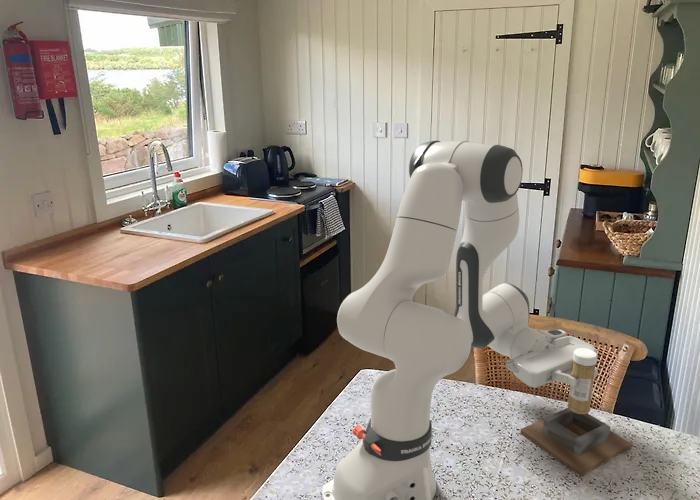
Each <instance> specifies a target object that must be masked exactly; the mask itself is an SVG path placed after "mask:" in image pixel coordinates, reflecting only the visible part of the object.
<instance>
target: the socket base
mask: <svg viewBox="0 0 700 500" xmlns="http://www.w3.org/2000/svg"><path fill="white" fill-rule="evenodd" d="M519 431H520V432H519V434H520V435H521V436H523V437H525V439H528V440H529V441H530V442H531V443H533V444H534V445H536V446H537V447H539V448H540V449H542V450H543V451H545V452H546V454H547V453H548V454H549V455H550V456H552V457H553V458H554V459H556V460H558V462H560V463H561V464H563V465H564V466H566V467H568V469H570V470H572V471H573V472H575V474H577V475H579V476H580V477H582V476H584V475H585V474H588V473H589V472H591V471H593V470H595V469H597V468H599V467H600V466H602V465H604V464H605V463H607V462H610V461H611V460H613V459H614V458H617V457H618V456H621V455H622V454H624V453H626V452H627V451H629V450H632V446H633V444H632V443H631V442H630V441H628V440H627V439H624V438H623V437H622V436H620V435H618V434H617V433H614V432H613V431H612V430H611V426H610V425H608V424H607V423H606V422H605V423H604V422H603V421H601V420H599V419H598V418H596V417H594V416H593V415H591V414H590V413H587V414H577V413H574V412H572V411H571V410H570V409H569V408H568V407H566V408H564V409H561V410H560V411H558V412H555V413H552V414H551V415H548V416H547V417H544V418H542V419H540V420H538V421H535V422H533V423H531V424H529V425H527V426H524V427H522V428H520V430H519Z"/></svg>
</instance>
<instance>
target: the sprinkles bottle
mask: <svg viewBox="0 0 700 500" xmlns="http://www.w3.org/2000/svg"><path fill="white" fill-rule="evenodd" d="M597 363H598V354H596V352H594V351H593V350H590V349H586V348H579V349H576V350H575V351H574V354H573V370H572V373H571V374H573V375H575V376H577V377H578V378H579V384H578V385H576V386H574V387H572V386H571V385H569V397H568V402H567V408H569V409H570V410H571V411H572V412H574V413H577V414H587V413H588V414H590V412H591V403H592V402H591V400H592V396H593V389H594V378H595V377H594V372H595V369H596V365H597Z"/></svg>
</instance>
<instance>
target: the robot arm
mask: <svg viewBox="0 0 700 500" xmlns="http://www.w3.org/2000/svg"><path fill="white" fill-rule="evenodd" d="M523 169H524V168H523V163H522V159H521V158H520V156H519V155H518V153H517V152H516V150H514V149H513V148H511V147H508V146H505V145H501V144H494V145H492V144H486V143H482V142H481V143H480V142H470V141H468V140H449V141H447V140H446V141H445V140H444V141H440V140H432V141H425V142H424V143H421V144H420V145H418V147H416V149H415V150H414V151H413V153H412V154H411V156H410V160H409V164H408V172H409V175H408V176H409V180H408V182H407V185H406V187H405V190H404V191H403V195H402V198H401V201H400V203H399V207H398V210H397V214H396V218H395V223H394V226H393V230H392V233H391V234H392V235H391V238H390V241H389V245H388V248H387V251H386V254H385V256H384V259H383V261H382V263H381V265H380V267H379V268H378V270H377V271H376V273H375V274H374V275H373V277H372V278H371V279H370V280H369V281H368V282H366V284H365V285H363V286H362V287H360V288H359V289H357V290H355V291H353V292H351V293H349V294H348V295H347V296H346V297H345V298H344V299H343V301H342V302H341V304H340V306H339V309H338V311H337V317H336V323H337V329H338V333H339V335H340V336H341V337H342V338H343V339H345V341H348V343H350V344H352V345H353V346H355V347H357V348H358V349H360V350H362V351H365V352H369V353H371V354H374V355H376V356H380V357H382V358H385V359H388V360H390V361H392V362H393V364H394V366H395V368H394V369H390V370H389V371H385V372H384V373H382V374H380V375H379V376H377V378H376V379H375V380H374V382H373V384H372V385H371V388H370V418H369V421H368V423H367V426H366V428H365V429H364V428H363V427H362V426H361V425H360V424H357V425H355V426H354V427H353V428H352V430H351V431H352V434H353V436H355V437H356V438H357V439H358V440H360V442H359V443H358V444H357V445H355V447H354V448H353V449H352V450H351V451H350V452H349V453H348V454H347V455H346V456H345V457H344V458H343V459H342V460H341V461H340V462H339V463H337V465H336V468H335V471H334V474H333V478H332V479H331V480H329V481H328V482H327V483H324V484H323V485H322V488H321V491H322V492H321V499H322V500H434V497H435V495H436V493H437V481H436V479H435V475H434V471H433V467H432V460H431V459H432V458H431V448H430V447H431V444H432V440H433V439H432V438H433V432H432V431H433V428H432V427H433V426H432V425H433V424H432V421H431V420H430V419H431V404H432V396H433V391H434V390H435V388H436V386H437V384H438V382H440V380H441V379H443V378H445V377H446V376H449V375H452V374H454V373H456V372H458V371H459V369H461V368H462V366H464V364H465V363H466V362H467V360H468V358H469V356H470V353H471V351H472V348H476V349H485V348H487V347H489V348H490V349H492V350H493V351H495V352H497V353H498V354H500V355H502V356H504V357H508V358H510V359H507V360H506V363H505V369H507V370H509V372H512V373H513V375H514V376H515V377H516V378H517V379H519V380H520V381H521V382H522V383H523V384H525V385H526V386H527V387H530V388H539V387H542V386H544V385H547V384H549V383H551V382H556V383H560V384H561V383H562V384H567V385H569V386H570V385H571V386H572V387H574V386H576V385H578V384H579V378H578V377H577V376H575V375H573V374H572V370H573V354H574V351H575V350H576V349H579V348H586V349H590V350H593V351H594V352H596V354H597V349H596V347H595V346H594V345H592V344H590V343H588V342H587V341H584V340H583V339H579V338H577V337H575V336H572V335H567V332H566V331H564V330H563V329H552V330H541V329H538V330H537V329H535V328H531V327H530V326H529V325H528V324H529V321H530V301H529V298H528V295H527V294H526V293H525V292H524V291H523V289H521V288H520V287H517V286H516V285H514V284H512V283H509V282H502V283H499V285H498V284H497V285H496V286H495V287H493V288H492V289H490V290H488V291H486V292H485V293H484V279H485V276H486V273H487V271H488V269H489V268H490V266H491V265H492V264H493V263H494V262H495V260H496V259H497V258H498V257H499V256H500V255H501V254H502V253H503V252H504V251H505V250H506V249H507V248H509V246H510V245H511V244H512V243H513V241H514V240H515V239H516V237H517V234H518V231H519V225H520V210H519V209H520V208H519V202H518V193H517V192H518V191H519V189H520V187H521V184H522V180H523ZM462 203H463V204H462ZM462 205H463V210H464V228H463V229H464V230H463V235H462V238H461V242H460V244H459V247H458V249H457V252H456V258H455V260H456V261H455V262H456V263H455V309H454V314H452V313H449V312H447V311H445V310H443V309H441V308H438V307H434V306H431V305H428V304H423V303H419V302H415V301H413V297H414V295H416V294H415V293H416V292H417V290H419V288H420V287H422V286H423V285H424V284H428V283H432V282H434V281H437V280H438V279H439V280H440V278H441V277H443V276H444V275H445V274H446V273H447V271H448V269H449V267H450V264H451V258H452V254H453V249H454V246H455V241H456V237H457V234H458V228H459V225H460V218H461V212H462ZM597 355H598V354H597ZM598 373H599V372H598V369H597V368H595V372H594V378H596V377H598Z"/></svg>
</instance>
